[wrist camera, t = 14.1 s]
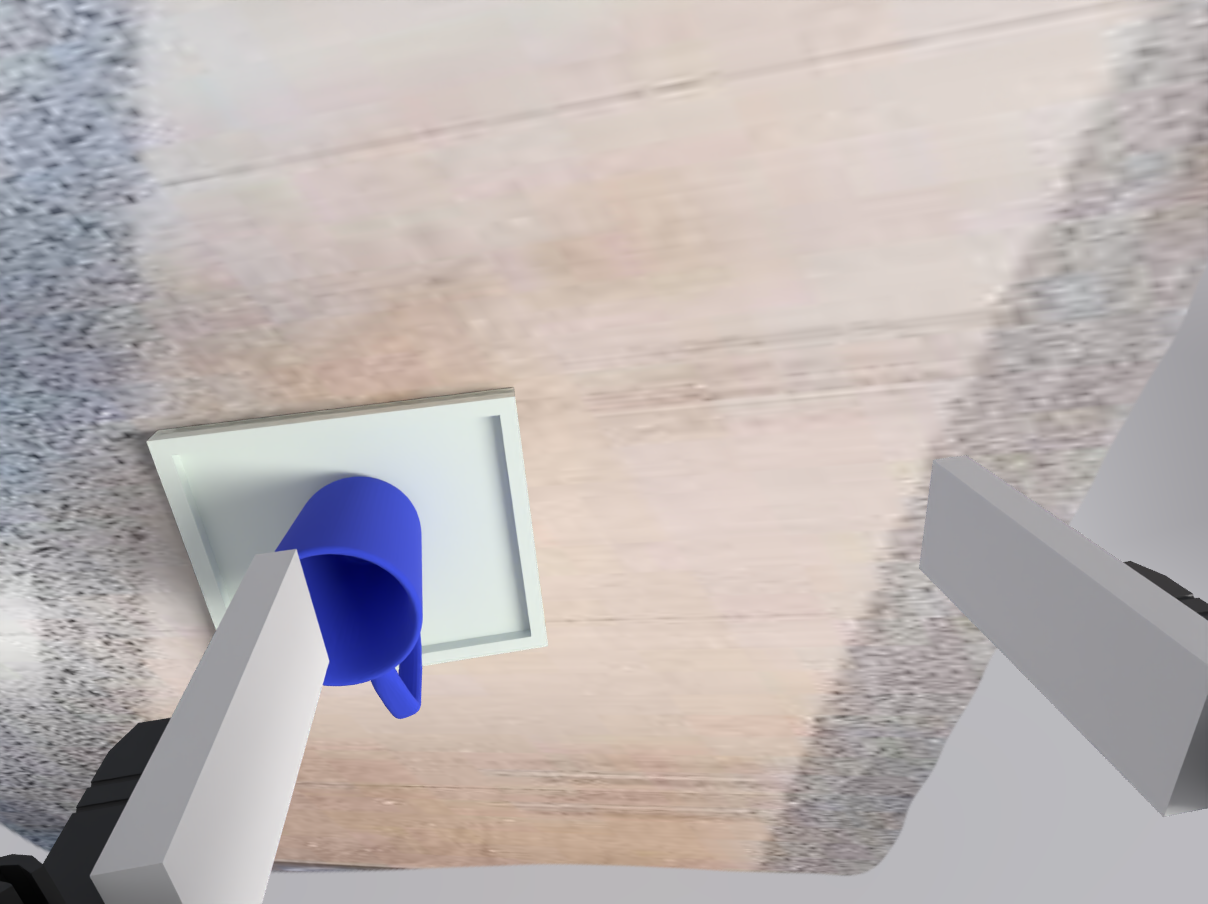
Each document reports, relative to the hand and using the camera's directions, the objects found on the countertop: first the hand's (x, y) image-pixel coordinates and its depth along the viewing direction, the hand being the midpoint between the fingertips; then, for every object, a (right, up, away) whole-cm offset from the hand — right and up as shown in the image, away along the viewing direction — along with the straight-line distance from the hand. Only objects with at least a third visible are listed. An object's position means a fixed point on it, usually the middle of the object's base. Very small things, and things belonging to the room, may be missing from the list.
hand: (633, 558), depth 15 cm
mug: (-15, -3, +30) cm, 34 cm away
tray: (-15, -3, +31) cm, 35 cm away
